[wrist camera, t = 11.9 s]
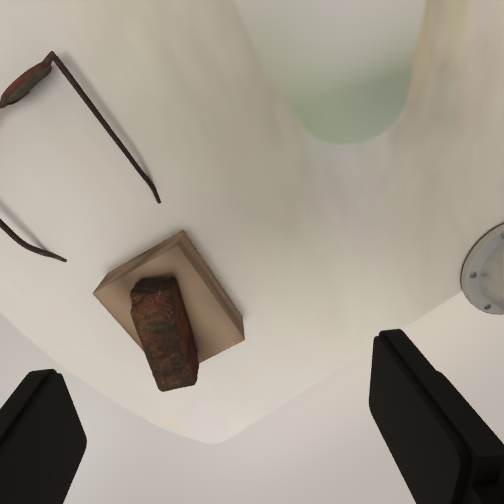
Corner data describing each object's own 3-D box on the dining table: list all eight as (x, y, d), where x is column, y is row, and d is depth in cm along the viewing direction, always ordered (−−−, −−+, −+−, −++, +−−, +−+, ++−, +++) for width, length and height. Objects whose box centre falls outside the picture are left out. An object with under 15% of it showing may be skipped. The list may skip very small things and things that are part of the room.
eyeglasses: (67, 57, 29) (37, 44, 24) (169, 196, 34) (161, 209, 30) (-53, 147, 31) (-101, 152, 26) (61, 266, 36) (38, 288, 31)
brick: (201, 354, 36) (198, 386, 32) (166, 361, 36) (158, 394, 32) (176, 269, 32) (168, 293, 28) (136, 277, 32) (122, 302, 28)
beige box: (183, 229, 36) (177, 245, 31) (242, 314, 40) (244, 339, 36) (108, 271, 37) (92, 293, 32) (174, 350, 42) (168, 378, 37)
